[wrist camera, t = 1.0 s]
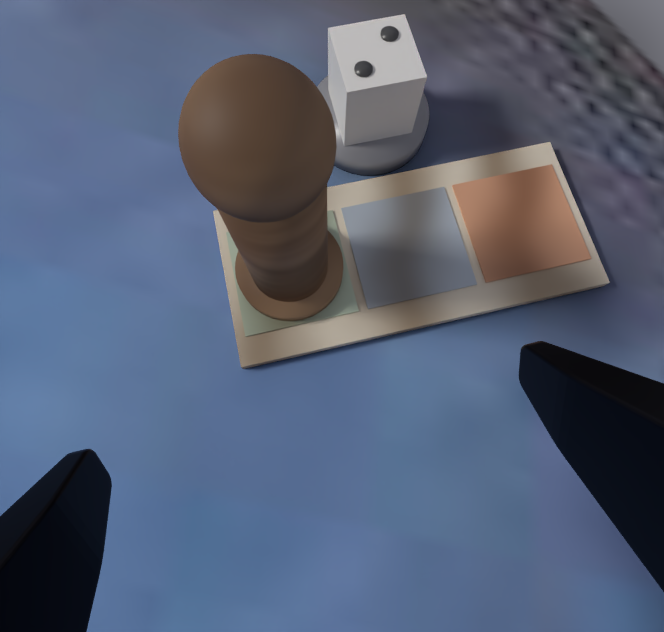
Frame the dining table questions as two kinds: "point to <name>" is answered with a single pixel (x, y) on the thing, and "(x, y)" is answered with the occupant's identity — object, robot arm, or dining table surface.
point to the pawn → (267, 179)
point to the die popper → (375, 95)
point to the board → (433, 252)
